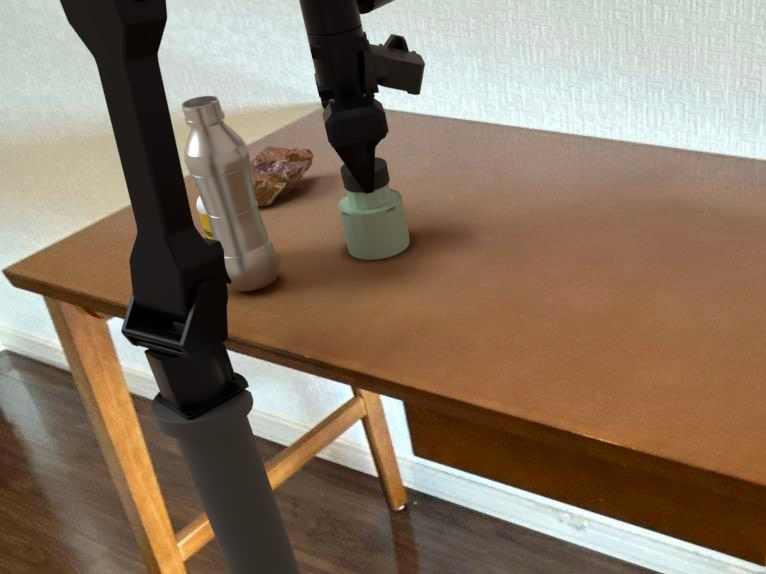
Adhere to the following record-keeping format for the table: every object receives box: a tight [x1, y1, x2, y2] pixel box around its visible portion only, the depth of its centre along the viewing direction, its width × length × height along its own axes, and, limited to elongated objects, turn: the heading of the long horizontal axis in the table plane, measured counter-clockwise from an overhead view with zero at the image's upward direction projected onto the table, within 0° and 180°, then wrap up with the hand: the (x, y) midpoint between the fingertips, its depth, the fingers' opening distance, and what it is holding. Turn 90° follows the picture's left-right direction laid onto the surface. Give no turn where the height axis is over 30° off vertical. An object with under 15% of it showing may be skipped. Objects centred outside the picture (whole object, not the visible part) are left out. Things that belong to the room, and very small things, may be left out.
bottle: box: [337, 182, 411, 261], centre depth 117 cm, size 7×7×8 cm
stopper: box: [339, 156, 391, 193], centre depth 115 cm, size 5×5×5 cm
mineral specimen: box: [250, 145, 314, 207], centre depth 133 cm, size 12×8×7 cm
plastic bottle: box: [181, 95, 280, 292], centre depth 108 cm, size 6×7×20 cm
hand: (365, 177), depth 114 cm, fingers open, 9 cm apart
